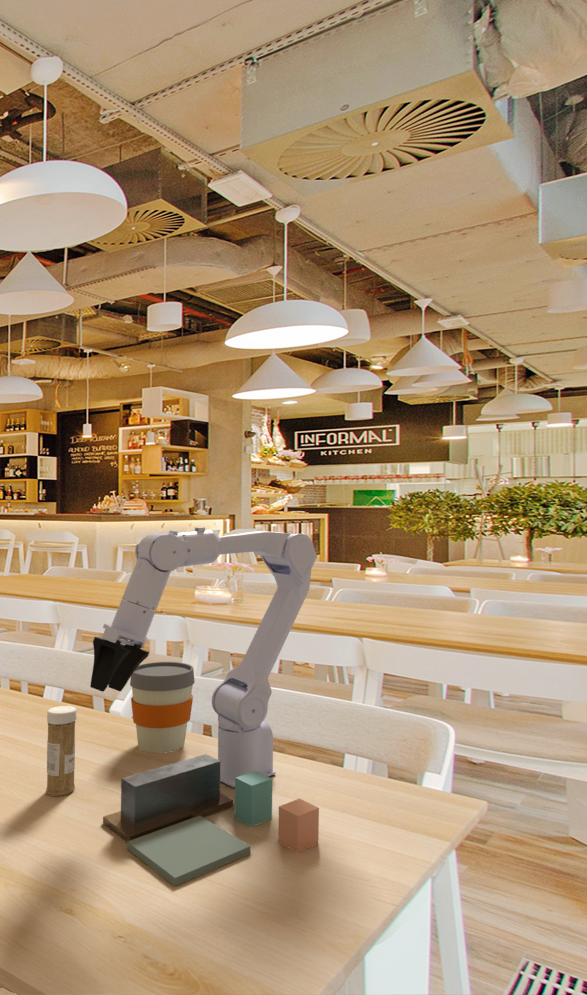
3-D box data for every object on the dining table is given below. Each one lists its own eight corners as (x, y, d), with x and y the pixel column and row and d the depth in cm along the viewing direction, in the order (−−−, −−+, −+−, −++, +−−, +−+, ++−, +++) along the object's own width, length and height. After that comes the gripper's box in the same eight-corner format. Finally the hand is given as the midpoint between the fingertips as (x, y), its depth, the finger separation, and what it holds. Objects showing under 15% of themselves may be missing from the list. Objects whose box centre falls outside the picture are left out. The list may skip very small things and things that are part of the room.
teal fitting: (255, 809, 104) (255, 770, 104) (271, 818, 101) (272, 778, 101) (234, 817, 102) (235, 777, 102) (251, 826, 99) (251, 785, 99)
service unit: (203, 790, 111) (204, 747, 111) (233, 806, 105) (233, 761, 105) (103, 823, 99) (103, 775, 99) (129, 843, 93) (130, 793, 93)
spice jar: (78, 793, 109) (79, 710, 109) (49, 799, 107) (51, 714, 107) (70, 783, 113) (72, 703, 113) (42, 789, 110) (44, 707, 111)
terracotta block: (298, 833, 97) (299, 798, 97) (318, 843, 94) (318, 807, 94) (278, 842, 94) (278, 806, 94) (297, 853, 91) (298, 816, 91)
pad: (199, 822, 100) (199, 815, 100) (250, 853, 91) (250, 846, 91) (126, 849, 92) (127, 841, 92) (174, 886, 83) (175, 877, 83)
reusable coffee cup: (197, 753, 128) (199, 674, 128) (130, 759, 124) (131, 678, 124) (189, 732, 140) (190, 660, 140) (127, 737, 136) (128, 663, 136)
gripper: (130, 603, 114) (100, 681, 111) (99, 591, 101) (63, 680, 97) (168, 616, 113) (138, 695, 110) (142, 605, 99) (107, 696, 96)
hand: (106, 689), depth 104 cm, fingers open, 7 cm apart
